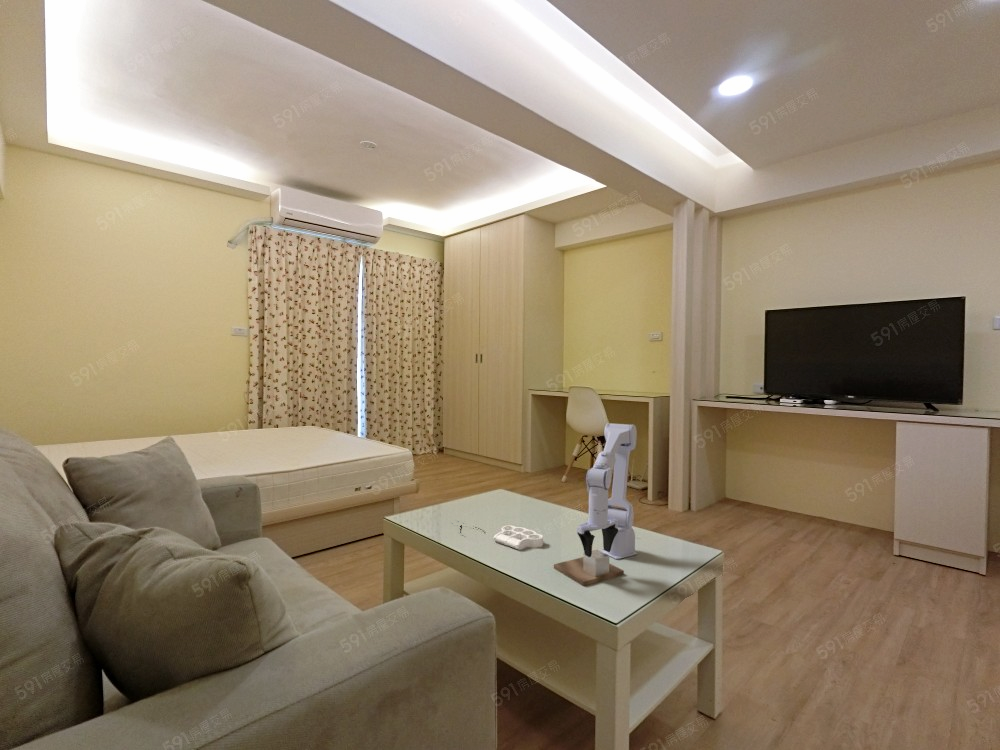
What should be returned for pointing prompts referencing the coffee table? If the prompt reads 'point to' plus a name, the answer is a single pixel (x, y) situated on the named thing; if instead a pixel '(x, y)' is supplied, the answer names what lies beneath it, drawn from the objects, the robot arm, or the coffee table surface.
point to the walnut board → (577, 573)
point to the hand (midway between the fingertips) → (597, 553)
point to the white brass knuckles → (518, 537)
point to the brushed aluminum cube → (596, 563)
